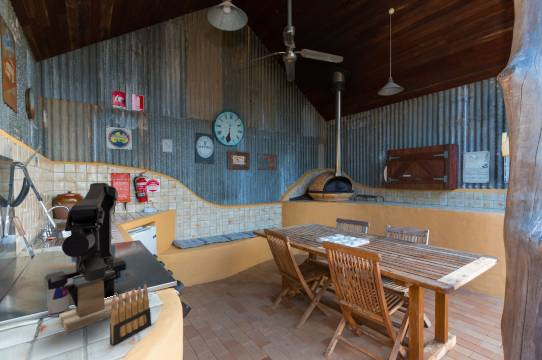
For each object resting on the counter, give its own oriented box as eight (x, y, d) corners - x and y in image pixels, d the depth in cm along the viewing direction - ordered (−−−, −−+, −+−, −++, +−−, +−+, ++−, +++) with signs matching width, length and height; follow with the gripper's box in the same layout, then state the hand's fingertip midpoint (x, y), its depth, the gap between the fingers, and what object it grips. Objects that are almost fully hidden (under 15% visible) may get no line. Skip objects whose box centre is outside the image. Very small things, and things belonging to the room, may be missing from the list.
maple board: (59, 320, 79) (59, 313, 79) (135, 294, 96) (134, 289, 96) (67, 332, 73) (67, 325, 73) (147, 302, 90) (147, 296, 89)
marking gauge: (68, 304, 80) (67, 278, 80) (91, 297, 84) (90, 272, 84) (79, 317, 71) (78, 288, 71) (104, 309, 76) (103, 281, 76)
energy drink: (70, 312, 84) (69, 275, 84) (49, 319, 81) (47, 280, 81) (67, 307, 88) (66, 271, 88) (46, 313, 84) (45, 276, 84)
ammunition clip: (113, 346, 66) (112, 299, 66) (109, 344, 67) (107, 297, 67) (151, 325, 75) (150, 283, 75) (147, 323, 76) (146, 282, 76)
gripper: (51, 261, 63) (54, 325, 63) (132, 244, 77) (134, 297, 77) (42, 253, 70) (45, 311, 70) (118, 240, 84) (120, 288, 84)
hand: (89, 301), depth 75 cm, fingers closed on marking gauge, 6 cm apart
